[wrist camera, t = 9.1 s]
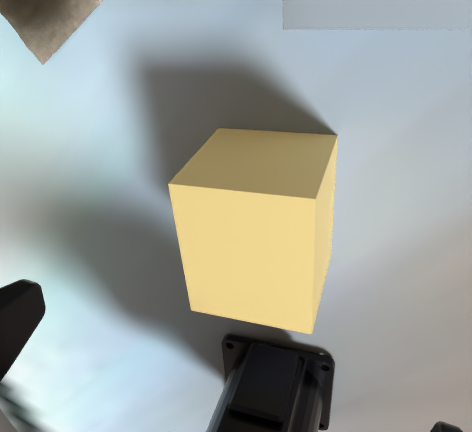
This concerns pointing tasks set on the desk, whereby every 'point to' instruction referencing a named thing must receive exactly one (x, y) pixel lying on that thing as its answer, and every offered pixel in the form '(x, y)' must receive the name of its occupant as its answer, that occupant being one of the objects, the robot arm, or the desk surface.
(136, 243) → the desk surface
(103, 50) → the desk surface
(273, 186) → the mustard box
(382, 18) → the gray tray
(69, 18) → the condiment
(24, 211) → the desk surface
